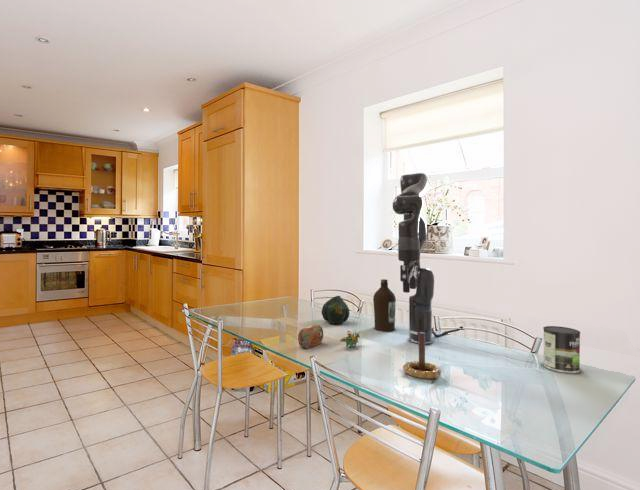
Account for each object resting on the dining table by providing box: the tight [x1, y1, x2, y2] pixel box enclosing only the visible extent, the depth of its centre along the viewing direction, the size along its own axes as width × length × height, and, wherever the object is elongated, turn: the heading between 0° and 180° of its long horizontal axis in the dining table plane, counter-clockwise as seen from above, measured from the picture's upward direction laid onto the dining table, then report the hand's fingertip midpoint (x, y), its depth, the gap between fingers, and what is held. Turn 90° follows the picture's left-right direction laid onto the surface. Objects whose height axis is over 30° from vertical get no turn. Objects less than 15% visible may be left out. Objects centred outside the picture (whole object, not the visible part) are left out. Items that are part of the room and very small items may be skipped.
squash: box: [321, 295, 350, 325], centre depth 212 cm, size 14×15×15 cm
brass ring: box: [402, 360, 442, 380], centre depth 136 cm, size 12×12×2 cm
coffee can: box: [542, 325, 581, 374], centre depth 141 cm, size 10×10×14 cm
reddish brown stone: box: [297, 324, 324, 349], centre depth 172 cm, size 15×3×8 cm, turn 131°
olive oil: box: [372, 278, 397, 332], centre depth 197 cm, size 11×11×25 cm
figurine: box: [339, 330, 361, 349], centre depth 166 cm, size 3×12×8 cm, turn 121°
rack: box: [404, 332, 438, 384], centre depth 136 cm, size 9×9×15 cm
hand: (409, 290), depth 149 cm, fingers open, 8 cm apart
